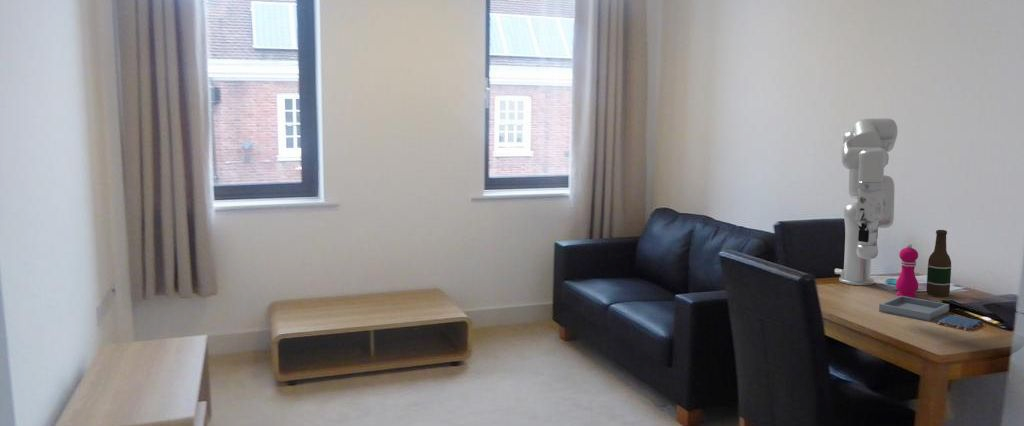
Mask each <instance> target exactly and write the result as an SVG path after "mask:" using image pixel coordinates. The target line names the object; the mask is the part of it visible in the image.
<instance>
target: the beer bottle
mask: <svg viewBox="0 0 1024 426" xmlns="http://www.w3.org/2000/svg"><path fill="white" fill-rule="evenodd" d="M935 234H936V236H935V244H934V250H933V252H932V253H931V254H930V256H929V257H928V261H927V275H926V294H927V296H931V297H936V298H946V297H949V296H950V291H951V290H950V289H951V277H952V260H951V257H950V255H949V254H948V251H947V234H948V231H947V230H946V229H945V230H944V229H937V230H936V231H935Z"/></svg>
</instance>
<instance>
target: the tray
mask: <svg viewBox="0 0 1024 426" xmlns="http://www.w3.org/2000/svg"><path fill="white" fill-rule="evenodd" d="M949 311H950V304H949V303H944V302H938V301H934V300H933V301H932V300H927V299H921V298H917V297H916V298H911V297H906V296H898V297H897V296H895V297H893V298H891V299H888V300H886V301H884V302H881V303H879V306H878V312H879V313H880V312H881V313H886V314H890V315H896V316H900V317H907V318H911V319H917V320H922V321H926V322H931V321H934V320H935V319H937V318H939V317H940V316H942V315H944V314H946V313H949Z"/></svg>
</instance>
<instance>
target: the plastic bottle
mask: <svg viewBox="0 0 1024 426" xmlns="http://www.w3.org/2000/svg"><path fill="white" fill-rule="evenodd" d="M879 217H880V216H879V213H877V214H876V216H875V220H876V221H874V222H869V226H868V230H869V242H860V241H858V246H857V255H858V257H859V258H863V259H871V260H873V259H876V258H877V257H878V253H879V246H878V236H877V228H878V222H879ZM863 221H867V220H866V218H865V216H864V217H863ZM864 224H865V225H866V223H864ZM878 229H879V228H878Z"/></svg>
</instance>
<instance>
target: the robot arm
mask: <svg viewBox="0 0 1024 426" xmlns="http://www.w3.org/2000/svg"><path fill="white" fill-rule="evenodd" d="M897 137H898V125H897V123H896V121H895V120H893V119H892V118H864V119H860V120H858V121H856V122H855V124H854V125H853V129H852V130H850V131H849V130H848V131H847V132H845V133H844V135H843V138H842V139H843V141H842V142H843V146H842V148H841V162H842V165H843V167H844V168H845V169H848V194H849V196H850V198H852V199H854V200H855V199H856V200H857V202H852V203H851V202H850V203H849V204H847V205H846V206H845V207H844V209H843V218H844V219H843V220H844V232H845V233H844V235H845V236H844V237H845V238H844V257H843V258H844V259H843V260H844V261H843V269H841V268H834V275H835V274H836V275H840V276H839V278H838V279H839V282H841V283H843V284H847V285H851V286H870V285H873V284H875V279H873V278H872V277H871V272H872V271H871V269H872V268H871V266H872V265H871V264H872V259H863V258H859V257H858V255H857V246H858V241H860V242H869V230H868V226H869V222H874V221H876V220H875V216H876V214H877V213H879V216H880V217H879V222H878V228H877V237H878V229H887V228H890V227H891V226H893V224H894V219H895V218H894V215H895V182H894V179H893V178H892V177H891V176H889V175H886V174H885V175H884V173H885V170H884V169H885V168H886V166H887V165H888V163H889V153H888V152H891V151H892V150H893V149H894V146H895V143H896V140H897ZM864 216H865V218H866V220H867V221H863V217H864ZM864 223H866V225H865V224H864Z"/></svg>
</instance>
